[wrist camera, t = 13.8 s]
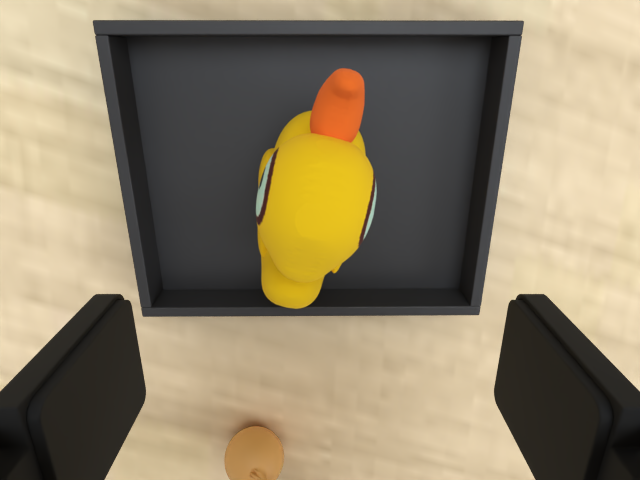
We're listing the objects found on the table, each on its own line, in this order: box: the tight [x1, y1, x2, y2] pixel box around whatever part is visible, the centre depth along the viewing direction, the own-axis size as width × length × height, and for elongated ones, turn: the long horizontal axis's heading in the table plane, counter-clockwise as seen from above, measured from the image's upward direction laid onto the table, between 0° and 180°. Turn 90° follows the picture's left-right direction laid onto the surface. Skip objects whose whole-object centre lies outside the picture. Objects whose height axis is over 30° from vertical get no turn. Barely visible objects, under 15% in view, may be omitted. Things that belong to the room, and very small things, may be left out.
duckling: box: [256, 68, 377, 309], centre depth 20 cm, size 11×5×10 cm, turn 166°
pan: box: [93, 20, 524, 317], centre depth 24 cm, size 15×19×3 cm
